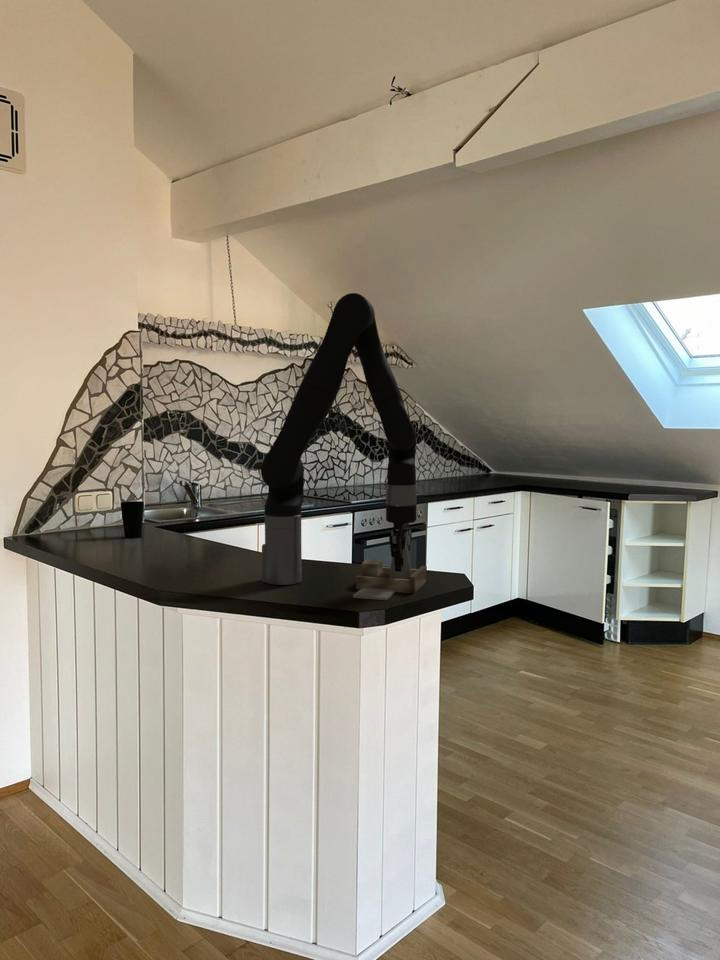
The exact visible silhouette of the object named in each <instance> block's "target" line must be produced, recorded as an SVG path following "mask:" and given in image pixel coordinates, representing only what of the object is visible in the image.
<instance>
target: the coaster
mask: <svg viewBox="0 0 720 960" xmlns="http://www.w3.org/2000/svg"><path fill="white" fill-rule="evenodd" d="M394 594H396V592H395V590H391V589H378V588H365V587H363V588H362V589H358V591H357V592H355V593H354V594H353V595H352V598H355V599H366V600H379V601H387V600H388V599H390V598H391V597H392V596H393V595H394Z"/></svg>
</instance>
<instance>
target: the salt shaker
mask: <svg viewBox="0 0 720 960" xmlns="http://www.w3.org/2000/svg"><path fill="white" fill-rule="evenodd" d="M409 540H410V538H409V536H408V537H407V539H406V543H407V544H408V543H409ZM403 541H404V540H403ZM407 544H406V549H404V558H403V566H402V565H401V572H399V571H395V566H394V558H393V557H392V556H391V562H390V563H391V564H390V567H391V568H390V573H389V578H396V579H410V576H411V575H412V571H411V569H412V567H411V566H412V565H411V560H410V556H409V554H408V552H409V551H408V550H407ZM402 545H403V543H402V544H401V546H402ZM396 552H399V551H398V550H396ZM398 562H399V561H398ZM398 569H399V567H398Z"/></svg>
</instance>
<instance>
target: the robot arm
mask: <svg viewBox="0 0 720 960" xmlns="http://www.w3.org/2000/svg"><path fill="white" fill-rule="evenodd" d="M375 315H376V313H375V309H374V307H373V304H372V303H371V301H369V299H367V298H366V297H365V295H362V294H360V293H357V292H351V293H347V294H344V295H343V296H342V297H341V298H339V300H337V302H336V304H335V305H334V309H333V311H332V314H331V318H330V320H329V323H328V326H327V328H326V331H325V335H324V337H323V339H322V342H321V344H320V346H319V348H318V350H317V351H316V353H315V355H314V357H313V358H312V360H311V363H310V364H309V367H308V368H307V370H306V372H305V374H304V376H303V378H302V381H301V382H300V385H299V386H298V389H297V391H296V394H295V395H294V399H293V401H292V402H291V405H290V408H289V410H288V412H287V414H286V417H285V419H284V422H283V425H282V426H281V428H280V431H279V433H278V435H277V436H276V439H274V440H275V441H274V442H273V443H272V446H271V447H270V448H269V450H268V452H267V453H266V455H265V456H264V459H263V460H262V463H261V465H260V475H261V479H262V481H263V482H264V484H265V485H266V486H268V493H267V499H266V501H265V503H264V544H262V546H261V577H262V578H261V582H262V583H266V584H270V585H275V586H276V585H277V586H286V585H287V586H288V585H296V584H299V583H301V582H302V577H303V576H302V575H303V573H302V571H303V570H302V567H303V566H302V563H303V562H302V555H303V554H302V553H303V552H302V506H303V504H304V503H303V502H304V488H305V487H304V486H305V484H304V482H305V472H304V470H305V469H304V463H303V461H302V455H303V453H304V451H305V449H306V447H307V445H308V442H309V441H310V440H311V438H312V437H313V435H314V434H315V433H316V432H317V430H318V429H319V427H320V426H321V425H322V423H323V422H324V421H325V419H326V417H327V416H328V414H329V413H330V410H331V408H332V407H333V405H334V403H335V401H336V398H337V396H338V394H339V391H340V389H341V385H342V383H343V380H344V375H345V372H346V367H347V364H348V360H349V357H350V355H351V354H352V350H353V348H355V350H356V354H357V355H358V357H359V360H360V363H361V368H362V370H363V376H364V379H365V383H366V386H367V388H368V392H369V394H370V396H371V399H372V402H373V405H374V407H375V409H376V411H377V414H378V416H379V418H380V423H381V425H382V429H383V431H384V435H385V437H386V441H387V443H388V464H387V469H386V470H387V471H386V473H387V474H386V479H387V480H386V492H385V493H386V494H385V521H386V522H388V523H392V524H393V527H392V529H391V532H390V535H389V537H388V539H389V547H390V556H391V558H392V557H393V558H394V566H395V571H399V572H401V565H402V566H403V558H404V549H406V544H407V543H406V539H407V537H408V536H409V538H410V540H409V543H408V544H407V550H408V555H409V552H410V551H411V547H412V546H411V545H412V544H411V543H412V537H413V535H412V534H413V529H412V528H410V524H413V523H415V522H416V521H417V508H418V507H417V502H418V501H417V500H418V499H417V495H418V494H417V487H416V483H417V482H416V481H417V480H416V479H417V475H416V474H417V469H416V468H417V467H416V452H417V451H416V450H417V448H416V447H417V431H416V428H415V427H414V425H413V423H412V421H411V419H410V416H409V414H408V412H407V410H406V407H405V401H404V399H403V395H402V393H401V390H400V388H399V385H398V382H397V380H396V378H395V374H394V373H393V370H392V368H391V365H390V364H389V361H388V359H387V357H386V356H387V355H386V354H385V351H384V349H383V345H382V342H381V339H380V335H379V330H378V327H377V321H376V316H375ZM403 540H404V541H403ZM402 543H403V545H402V546H401V544H402ZM396 550H398V551H399V552H396ZM398 561H399V562H398ZM398 567H399V569H398Z"/></svg>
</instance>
